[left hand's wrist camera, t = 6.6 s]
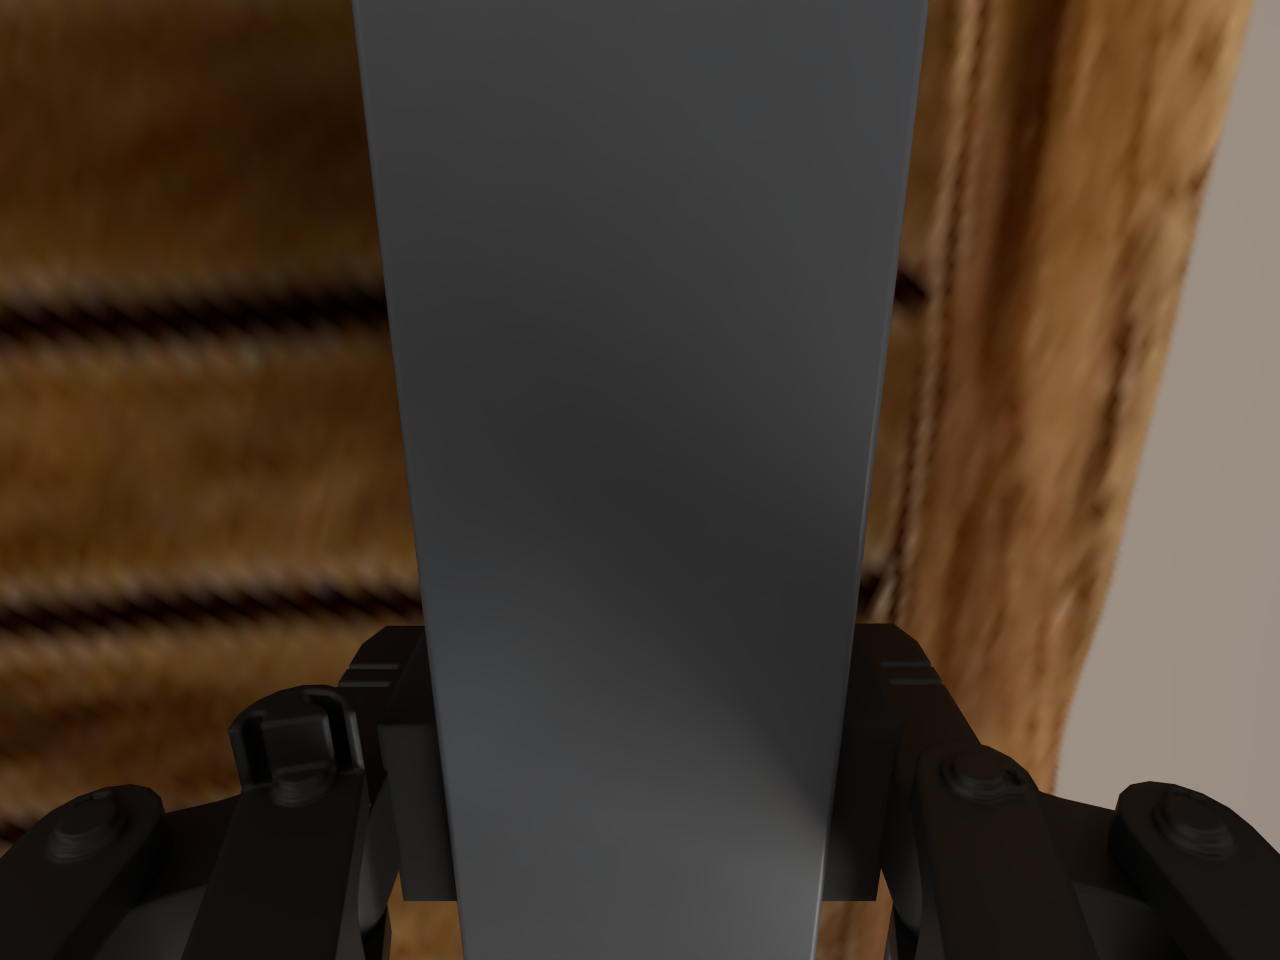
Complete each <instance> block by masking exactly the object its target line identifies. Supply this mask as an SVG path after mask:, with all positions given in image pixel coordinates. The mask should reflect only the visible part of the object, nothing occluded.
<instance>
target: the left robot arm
mask: <svg viewBox="0 0 1280 960" xmlns="http://www.w3.org/2000/svg"><path fill="white" fill-rule="evenodd" d="M228 733H229V737H230V741H231V745H232V749H233V753H234V758H235V762H236V766H237V770H238V774H239V778H240V782H241V786H242V791H241V793H240V794H239V795H237V796H233V797H230V798H227V799H224V800H220V801H217V802H213V803H208V804H204V805H200V806H195V807H191V808H187V809H182V810H178V811H174V812H170V813H165V810H164V807H163V804H162V800H161V797H160V796H158V795H157V794H156V793H155V792H154V791H153V790H152V789H151V788H148V787H143V786H137V785H132V784H129V785H121V786H113V787H105V788H102V789H99V790H96V791H93V792H90V793H87V794H84V795H81V796H78V797H76V798H75V799H73V800H71V801H69V802H67V803H65V804H63V805H62V806H60V807H58V808H56V809H54V810H52V811H51V812H50V813H48V814H47V815H46V816H45V817H43V818H42V819H41V820H40V821H38V822H37V823H36V824H35V825H34V826H32V827H31V828H30V829H29V830H28V831H27V832H26V833H25V834H24V835H23V836H22V837H21V838H20V839H19V840H18V841H17V842H16V843H15V844H14V845H13V846H12V847H11V848H10V849H9V850H8V851H7V852H6V853H5V854H4V855H3V856H2V857H1V858H0V960H389V957H390V945H391V934H392V931H391V925H390V918H389V912H388V906H387V902H388V899H389V897H390V894H391V891H392V888H393V885H394V882H395V880H396V877H397V874H398V871H399V874H400V880H401V887H402V893H403V900H404V901H457V895H456V887H455V878H454V870H453V861H452V853H451V844H450V836H449V827H448V819H447V810H446V802H445V793H444V785H443V776H442V768H441V759H440V751H439V742H438V734H437V726H436V717H435V709H434V700H433V692H432V683H431V675H430V666H429V658H428V649H427V641H426V632H425V626H386V627H384V628H383V629H382V630H380V631H379V632H378V633H376V634H375V635H374V636H372V637H371V638H370V639H368V640H367V641H366V642H364V643H363V644H362V645H361V647H360V649H359V650H358V652H357V654H356V655H355V657H354V658H353V660H352V662H351V663H350V665H349V669H347V670H346V671H345V673H344V675H343V676H342V678H341V680H340V681H339V685H338V687H332V686H328V685H302V686H298V687H293V688H289V689H285V690H280V691H278V692H276V693H273V694H271V695H269V696H267V697H264V698H262V699H260V700H258V701H256V702H255V703H253V704H252V705H251V706H249V707H248V708H247V709H245V710H244V711H243V712H241V713H240V714H239V715H238V716H237V717H236V719H235V720H234V722H233V723H232V724H231V726H230V727H229V729H228ZM881 869H882V872H883V875H884V877H885V880H886V883H887V886H888V889H889V891H890V894H891V897H892V900H893V906H892V912H891V918H890V924H889V930H888V936H887V942H886V948H885V954H884V960H1280V854H1279V853H1278V852H1277V851H1276V850H1275V849H1274V848H1273V847H1272V846H1271V845H1270V844H1269V843H1268V842H1267V841H1266V840H1265V839H1264V838H1263V837H1262V836H1261V835H1260V834H1259V833H1258V832H1257V831H1256V830H1255V829H1254V828H1253V827H1252V826H1251V825H1250V824H1249V823H1247V822H1246V821H1245V820H1244V819H1242V818H1241V817H1240V816H1239V815H1237V814H1236V813H1235V812H1234V811H1233V810H1231V809H1230V808H1229V807H1227V806H1225V805H1223V804H1221V803H1219V802H1217V801H1215V800H1214V799H1212V798H1210V797H1208V796H1206V795H1204V794H1203V793H1200V792H1197V791H1194V790H1191V789H1188V788H1185V787H1182V786H1179V785H1176V784H1169V783H1161V782H1152V781H1148V782H1143V783H1137V784H1131V785H1130V786H1128V787H1127V788H1126V789H1125V790H1124V791H1123V792H1122V793H1121V794H1120V795H1119V798H1118V801H1117V805H1116V808H1115V810H1110V809H1106V808H1102V807H1098V806H1093V805H1089V804H1085V803H1080V802H1076V801H1071V800H1067V799H1063V798H1059V797H1056V796H1053V795H1050V794H1046V793H1043V792H1041V791H1039V789H1038V787H1037V786H1036V784H1035V783H1034V781H1033V779H1032V778H1031V776H1030V775H1029V773H1028V772H1027V771H1026V770H1025V769H1024V768H1023V767H1021V766H1020V765H1019V764H1018V763H1017V762H1015V761H1014V760H1013V759H1012V758H1011V757H1009V756H1007V755H1005V754H1003V753H1001V752H999V751H997V750H995V749H993V748H991V747H989V746H985V745H981V743H980V742H979V740H978V738H977V737H976V735H975V734H974V732H973V730H972V729H971V727H970V726H969V724H968V722H967V721H966V719H965V717H964V716H963V714H962V713H961V711H960V709H959V708H958V706H957V705H956V703H955V701H954V700H953V698H952V696H951V695H950V693H949V692H948V690H947V688H946V687H945V685H942V683H941V679H940V677H939V676H938V674H937V672H936V671H935V669H934V667H931V663H930V661H929V659H928V658H927V656H926V655H925V653H924V651H923V650H922V648H921V646H920V645H919V643H918V642H917V641H916V640H915V639H913V638H912V637H911V636H909V635H908V634H907V633H905V632H904V631H903V630H901V629H900V628H899V627H897V626H896V625H895V624H855V628H854V636H853V645H852V653H851V662H850V670H849V678H848V687H847V695H846V704H845V712H844V720H843V729H842V737H841V746H840V754H839V763H838V771H837V779H836V788H835V796H834V805H833V813H832V821H831V830H830V838H829V847H828V855H827V863H826V872H825V880H824V889H823V897H822V901H876V897H877V890H878V884H879V877H880V871H881Z"/></svg>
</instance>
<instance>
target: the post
mask: <svg viewBox="0 0 1280 960" xmlns="http://www.w3.org/2000/svg"><path fill="white" fill-rule="evenodd" d="M351 5H352V13H353V22H354V30H355V39H356V47H357V55H358V64H359V72H360V81H361V89H362V98H363V106H364V115H365V123H366V132H367V140H368V149H369V157H370V166H371V174H372V183H373V191H374V200H375V208H376V217H377V225H378V234H379V242H380V251H381V259H382V268H383V276H384V284H385V293H386V301H387V310H388V318H389V327H390V335H391V344H392V352H393V361H394V369H395V378H396V386H397V395H398V403H399V412H400V420H401V429H402V437H403V446H404V454H405V463H406V471H407V480H408V488H409V497H410V505H411V513H412V522H413V530H414V539H415V547H416V556H417V564H418V573H419V581H420V590H421V598H422V607H423V615H424V624H425V632H426V641H427V649H428V658H429V666H430V675H431V683H432V692H433V700H434V709H435V717H436V726H437V734H438V742H439V751H440V759H441V768H442V776H443V785H444V793H445V802H446V810H447V819H448V827H449V836H450V844H451V853H452V861H453V870H454V878H455V887H456V895H457V904H458V912H459V921H460V929H461V938H462V946H463V954H464V960H815V956H816V948H817V939H818V931H819V922H820V914H821V905H822V897H823V889H824V880H825V872H826V863H827V855H828V847H829V838H830V830H831V821H832V813H833V805H834V796H835V788H836V779H837V771H838V763H839V754H840V746H841V737H842V729H843V720H844V712H845V704H846V695H847V687H848V678H849V670H850V662H851V653H852V645H853V636H854V628H855V620H856V611H857V603H858V594H859V586H860V577H861V569H862V561H863V552H864V544H865V535H866V527H867V519H868V510H869V502H870V493H871V485H872V477H873V468H874V460H875V451H876V443H877V434H878V426H879V418H880V409H881V401H882V392H883V384H884V376H885V367H886V359H887V350H888V342H889V334H890V325H891V317H892V308H893V300H894V292H895V283H896V275H897V266H898V258H899V249H900V241H901V233H902V224H903V216H904V207H905V199H906V191H907V182H908V174H909V165H910V157H911V149H912V140H913V132H914V123H915V115H916V106H917V98H918V90H919V81H920V73H921V64H922V56H923V48H924V39H925V31H926V22H927V14H928V6H929V0H351Z"/></svg>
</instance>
